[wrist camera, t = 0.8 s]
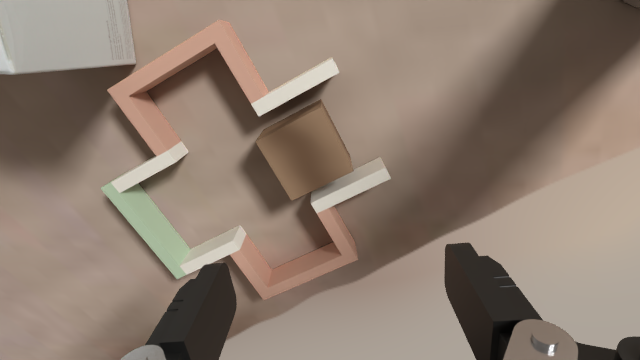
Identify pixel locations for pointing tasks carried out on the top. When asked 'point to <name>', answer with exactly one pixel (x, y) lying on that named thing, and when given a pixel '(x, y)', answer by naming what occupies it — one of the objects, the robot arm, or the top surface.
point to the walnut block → (305, 150)
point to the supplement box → (64, 35)
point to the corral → (171, 149)
